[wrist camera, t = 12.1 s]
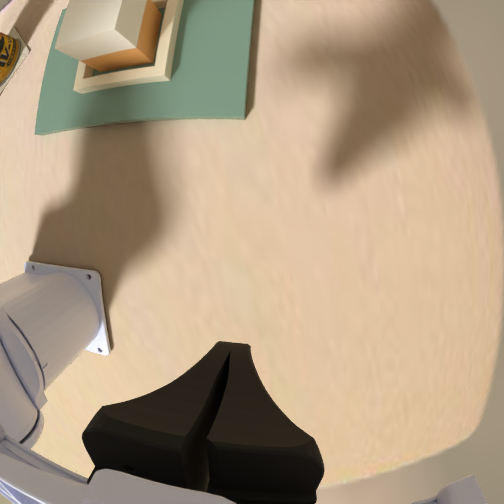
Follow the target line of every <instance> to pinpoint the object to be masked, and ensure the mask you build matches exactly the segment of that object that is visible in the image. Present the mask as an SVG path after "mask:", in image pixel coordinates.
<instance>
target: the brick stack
mask: <svg viewBox="0 0 504 504" xmlns="http://www.w3.org/2000/svg"><path fill="white" fill-rule="evenodd" d="M161 18H162V14H161V12H160V11H159V10H158V8H157V7H156V6H155V4H154V3H153V2H152V0H70V1H69V4H68V6H67V9H66V12H65V15H64V18H63V21H62V24H61V27H60V31H59V34H58V37H57V41H56V45H55V48H54V49H57V50H59V51H61V52H63V53H65V54H67V55H69V56H71V57H73V58H75V59H77V60H79V61H81V62H83V63H84V64H86V65H88V66H90V67H92V68H94V69H96V70H98V71H100V72H105V71H110V70H114V69H119V68H125V67H130V66H136V65H143V64H149V63H154V56H155V50H156V44H157V39H158V33H159V28H160V23H161Z"/></svg>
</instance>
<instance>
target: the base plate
mask: <svg viewBox="0 0 504 504" xmlns="http://www.w3.org/2000/svg"><path fill="white" fill-rule="evenodd" d="M152 2H153V3H154V4H155V6H156V7H157V8H158V10H159V11H160V12H161V14H162V18H161V23H160V28H159V33H158V39H157V44H156V50H155V56H154V63H149V64H143V65H136V66H130V67H125V68H119V69H114V70H110V71H105V72H100V71H98V70H96V69H94V68H92V67H90V66H88V65H86V64H84V63H83V62H81V61H79V60H77V59H75V58H73V57H71V56H69V55H67V54H65V53H63V52H61V51H59V50H57V49H54V48H55V45H56V41H57V37H58V34H59V31H60V27H61V24H62V21H63V18H64V15H65V12H66V9H67V8H66V9H63V10H62V13H61V16H60V19H59V22H58V25H57V28H56V31H55V34H54V38H53V41H52V45H51V48H50V52H49V56H48V60H47V64H46V68H45V73H44V77H43V82H42V87H41V93H40V99H39V105H38V111H37V119H36V127H35V135H46V134H51V133H56V132H62V131H68V130H74V129H80V128H87V127H94V126H101V125H110V124H119V123H129V122H141V121H155V120H175V119H244V120H245V115H246V101H247V88H248V74H249V62H250V49H251V37H252V26H253V14H254V3H255V0H152Z"/></svg>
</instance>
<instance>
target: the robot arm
mask: <svg viewBox="0 0 504 504" xmlns="http://www.w3.org/2000/svg"><path fill="white" fill-rule="evenodd" d="M34 267H35V268H34ZM24 268H25V273H23V274H20V275H18V276H16V277H14V278H12V279H10V280H8V281H6V282H4V283H2V284H0V493H1V494H2V495H3V496H4V497H6V498H7V499H9V500H10V501H11V502H12V503H14V504H315V503H316V500H317V497H316V490H317V488H318V486H319V484H320V482H321V480H322V478H323V475H324V464H323V460H322V457H321V454H320V451H319V448H318V446H317V444H316V441H315V439H314V438H313V437H311V436H310V435H308V434H307V433H306V432H304V431H303V430H301V429H300V428H299V427H297V426H296V425H295V424H294V423H293V422H292V421H291V420H290V419H289V418H288V417H287V416H286V415H285V414H284V413H283V412H282V411H281V410H280V409H279V407H278V406H277V405H276V404H275V402H274V401H273V400H272V398H271V397H270V395H269V394H268V392H267V391H266V389H265V387H264V386H263V384H262V382H261V380H260V378H259V376H258V373H257V371H256V368H255V366H254V363H253V360H252V356H251V350H250V348H251V347H250V346H249V344H242V343H232V342H222V341H219V342H217V343H216V344H215V345H214V347H213V348H212V349H211V350H210V351H209V352H208V353H207V354H206V355H205V356H204V357H203V358H202V359H201V360H200V361H199V362H197V363H196V364H195V365H194V366H193V367H192V368H190V369H189V370H188V371H187V372H185V373H184V374H183V375H181V376H180V377H179V378H177V379H176V380H174V381H172V382H171V383H169V384H168V385H166V386H164V387H162V388H160V389H157V390H155V391H153V392H151V393H149V394H146V395H144V396H141V397H138V398H135V399H132V400H129V401H125V402H121V403H116V404H111V405H106V406H102V407H101V408H100V410H99V411H98V412H97V413H96V414H95V416H94V417H93V419H92V420H91V421H90V423H89V424H88V426H87V427H86V429H85V430H84V432H83V433H82V440H83V443H84V446H85V448H86V450H87V452H88V454H89V456H90V458H91V459H92V461H93V463H94V465H95V468H94V470H93V471H92V473H91V475H90V477H89V479H88V478H85V477H83V476H81V475H79V474H76V473H74V472H72V471H70V470H68V469H66V468H64V467H62V466H60V465H58V464H56V463H54V462H52V461H50V460H48V459H46V458H44V457H43V456H41V455H39V454H37V453H36V452H34V451H32V450H30V449H31V448H32V447H33V446H34V445H35V444H36V442H37V441H38V439H39V437H40V434H41V433H42V430H43V426H44V417H43V414H42V412H41V411H40V409H41V408H42V406H43V405H44V404H45V403H46V402H47V398H46V396H45V394H44V391H45V390H46V389H47V388H48V386H49V385H50V384H51V383H52V382H53V381H54V380H55V379H56V378H57V377H58V376H59V375H60V374H61V373H62V372H63V371H64V370H65V369H66V368H67V367H68V366H69V365H70V364H71V363H72V362H73V361H74V360H75V359H76V358H77V357H78V356H79V355H80V354H81V353H82V352H83V351H84V350H87V351H90V352H94V353H98V354H102V355H106V356H107V355H109V354H110V352H111V349H110V344H109V338H108V332H107V326H106V319H105V312H104V305H103V297H102V288H101V278H100V274H99V273H98V272H97V271H94V270H87V269H79V268H72V267H65V266H58V265H52V264H45V263H39V262H32V261H27V262H25V264H24ZM89 275H90V276H91V278H90V277H89ZM100 348H101V349H102V350H101V349H100ZM410 504H488V503H487V501H486V499H485V497H484V495H483V493H482V491H481V489H480V487H479V485H478V483H477V480H476V478H475V477H474V475H470V476H467V477H465V478H462V479H459V480H457V481H454V482H451V483H449V484H448V485H446V486H445V487H443V488H442V489H441V490H440V491H439V492H438V494H437V496H434V497H431V498H428V499H424V500H421V501H417V502H414V503H410Z"/></svg>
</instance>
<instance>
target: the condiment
mask: <svg viewBox="0 0 504 504" xmlns="http://www.w3.org/2000/svg"><path fill="white" fill-rule="evenodd" d="M28 53H29V49H28V48H27V46H26V44H25V42H24V41H23V39H22V38H21V36H20V35H19V33H18V32H17V31H16V29H15V27H14V28H13V29H12V30H11V32H10V33H9V35H5V34H3V33H0V94H1V92H2V91H3V89H4V88H5V86H6V85H7V83H8V82H9V81H10V79H11V77H12V76H13V74H14V73H15V72H16V70H17V69H18V67H19V66H20V65H21V63H22V61H23V60H24V59H25V58H26V56H27V55H28Z"/></svg>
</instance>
